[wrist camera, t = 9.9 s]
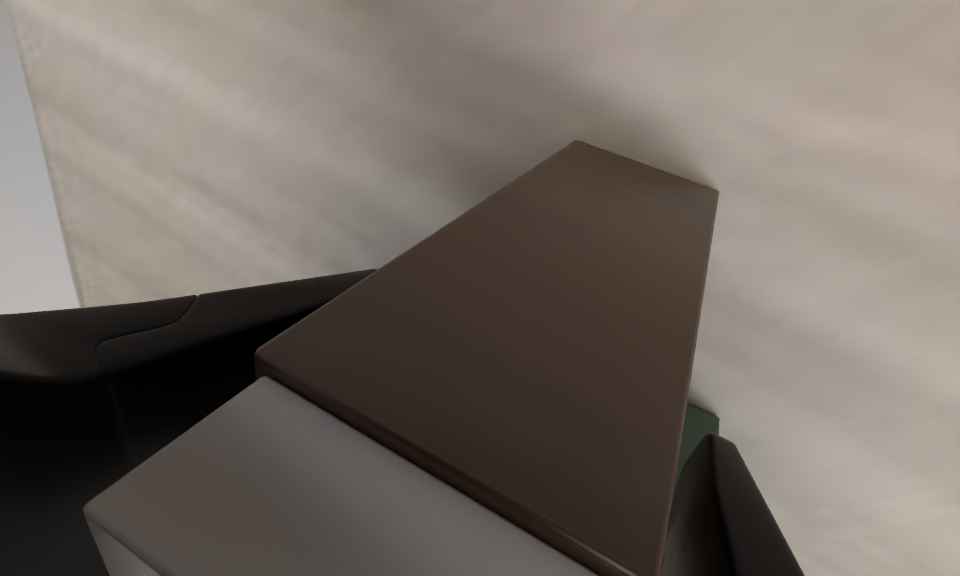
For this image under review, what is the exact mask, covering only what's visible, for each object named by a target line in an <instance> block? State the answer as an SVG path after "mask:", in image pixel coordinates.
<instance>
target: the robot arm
mask: <svg viewBox="0 0 960 576" xmlns="http://www.w3.org/2000/svg"><path fill="white" fill-rule="evenodd" d="M375 271H377V269H370V270H363V271H356V272H349V273H343V274H336V275H329V276H322V277H315V278H308V279H301V280H295V281H288V282H281V283H274V284H267V285H260V286H253V287H246V288H240V289H233V290H226V291H219V292H212V293H205V294H200V295H199V296H196V295H191V296H184V297H178V298H171V299H163V300H155V301H148V302H140V303H129V304H119V305H109V306H99V307H87V308H76V309H66V310H65V309H64V310H53V311H42V312H30V313H19V314H5V315H4V314H3V315H0V576H110V575H109V573H108V570H107V568H106V566H105V563H104V561H103V559H102V556H101V554H100V551H99V549H98V547H97V544H96V542H95V540H94V537H93V535H92V533H91V530H90V528H89V526H88V523H87V521H86V519H85V516H84V513H83V507H84V506H85V505H86V504H87V502H89V501H90V500H91V499H93V498H94V497H96V496H97V495H98V494H100V493H101V492H103V491H104V490H105V489H107V488H108V487H110V486H111V485H112V484H114V483H115V482H117V481H118V480H119V479H121V478H122V477H123V476H125V475H126V474H128V473H129V472H130V471H132V470H133V469H135V468H136V467H137V466H139V465H140V464H142V463H143V462H144V461H146V460H147V459H148V458H150V457H151V456H153V455H154V454H155V453H157V452H158V451H160V450H161V449H162V448H164V447H165V446H167V445H168V444H169V443H171V442H172V441H173V440H175V439H176V438H178V437H179V436H180V435H182V434H183V433H185V432H186V431H187V430H189V429H190V428H192V427H193V426H194V425H196V424H197V423H199V422H200V421H201V420H203V419H204V418H205V417H207V416H208V415H210V414H211V413H212V412H214V411H215V410H217V409H218V408H219V407H221V406H222V405H224V404H225V403H226V402H228V401H229V400H230V399H232V398H233V397H235V396H236V395H237V394H239V393H240V392H242V391H243V390H244V389H246V388H247V387H249V386H250V385H251V384H253V383H254V382H256V381H255V363H254V354H255V352H256V351H257V349H258V348H259V347H261V346H262V345H264V344H265V343H267V342H268V341H270V340H271V339H273V338H274V337H276V336H277V335H279V334H281V333H282V332H284V331H285V330H287V329H288V328H290V327H291V326H293V325H294V324H296V323H297V322H299V321H300V320H302V319H303V318H305V317H306V316H308V315H310V314H311V313H313V312H314V311H316V310H317V309H319V308H320V307H322V306H323V305H325V304H326V303H328V302H329V301H331V300H332V299H334V298H335V297H337V296H339V295H340V294H342V293H343V292H345V291H346V290H348V289H349V288H351V287H352V286H354V285H355V284H357V283H358V282H360V281H361V280H363V279H365V278H366V277H368V276H369V275H371V274H372V273H374V272H375ZM661 576H804V574H803V572H802V570H801V568H800V566H799V564H798V562H797V560H796V559H795V557H794V555H793V553H792V551H791V549H790V547H789V545H788V544H787V542H786V540H785V538H784V536H783V534H782V532H781V530H780V528H779V527H778V525H777V523H776V521H775V519H774V517H773V515H772V513H771V512H770V510H769V508H768V506H767V504H766V502H765V500H764V498H763V496H762V495H761V493H760V491H759V489H758V487H757V485H756V483H755V481H754V480H753V478H752V476H751V474H750V472H749V470H748V468H747V466H746V465H745V463H744V461H743V459H742V457H741V455H740V453H739V451H738V449H737V448H736V446H735V445H734V444H733V443H732V442H730V441H728V440H726V439H724V438H722V437H720V436H718V435H716V434H714V433H708V434H706V435H705V436H704V437H703V439H702V440H701V441H700V443H699V444H698V446H697V447H696V448H695V450H694V451H693V452H692V454H691V455H690V456H689V458H688V459H687V461H686V462H685V464H684V466H683V468H682V471H681V474H680V477H679V481H678V484H677V488H676V492H675V495H674V499H673V502H672V506H671V511H670V517H669V524H668V530H667V537H666V544H665V550H664V557H663V563H662V570H661Z"/></svg>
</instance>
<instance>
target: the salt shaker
mask: <svg viewBox="0 0 960 576" xmlns="http://www.w3.org/2000/svg"><path fill="white" fill-rule="evenodd" d="M718 196H719V192H718V191H717V190H715V189H712V188H709V187H706V186H704V185H701V184H698V183H695V182H692V181H690V180H687V179H684V178H681V177H678V176H676V175H673V174H670V173H667V172H664V171H662V170H659V169H656V168H653V167H650V166H648V165H645V164H642V163H639V162H636V161H633V160H631V159H628V158H625V157H622V156H619V155H617V154H614V153H611V152H608V151H605V150H603V149H600V148H597V147H594V146H591V145H589V144H586V143H583V142H580V141H574V142H572V143H571V144H569V145H568V146H566V147H565V148H563V149H562V150H560V151H559V152H557V153H555V154H554V155H552V156H551V157H549V158H548V159H546V160H545V161H543V162H542V163H540V164H539V165H537V166H536V167H534V168H533V169H531V170H530V171H528V172H526V173H525V174H523V175H522V176H520V177H519V178H517V179H516V180H514V181H513V182H511V183H510V184H508V185H507V186H505V187H504V188H502V189H500V190H499V191H497V192H496V193H494V194H493V195H491V196H490V197H488V198H487V199H485V200H484V201H482V202H481V203H479V204H478V205H476V206H475V207H473V208H471V209H470V210H468V211H467V212H465V213H464V214H462V215H461V216H459V217H458V218H456V219H455V220H453V221H452V222H450V223H449V224H447V225H445V226H444V227H442V228H441V229H439V230H438V231H436V232H435V233H433V234H432V235H430V236H429V237H427V238H426V239H424V240H423V241H421V242H420V243H418V244H416V245H415V246H413V247H412V248H410V249H409V250H407V251H406V252H404V253H403V254H401V255H400V256H398V257H397V258H395V259H394V260H392V261H390V262H389V263H387V264H386V265H384V266H383V267H381V268H380V269H378V270H377V271H375V272H374V273H372V274H371V275H369V276H368V277H366V278H365V279H363V280H361V281H360V282H358V283H357V284H355V285H354V286H352V287H351V288H349V289H348V290H346V291H345V292H343V293H342V294H340V295H339V296H337V297H335V298H334V299H332V300H331V301H329V302H328V303H326V304H325V305H323V306H322V307H320V308H319V309H317V310H316V311H314V312H313V313H311V314H310V315H308V316H306V317H305V318H303V319H302V320H300V321H299V322H297V323H296V324H294V325H293V326H291V327H290V328H288V329H287V330H285V331H284V332H282V333H281V334H279V335H277V336H276V337H274V338H273V339H271V340H270V341H268V342H267V343H265V344H264V345H262V346H261V347H259V348H258V349H257V351H256V352H255V354H254V363H255V381H256V382H254V383H253V384H251V385H250V386H249V387H247V388H246V389H244V390H243V391H242V392H240V393H239V394H237V395H236V396H235V397H233V398H232V399H230V400H229V401H228V402H226V403H225V404H224V405H222V406H221V407H219V408H218V409H217V410H215V411H214V412H212V413H211V414H210V415H208V416H207V417H205V418H204V419H203V420H201V421H200V422H199V423H197V424H196V425H194V426H193V427H192V428H190V429H189V430H187V431H186V432H185V433H183V434H182V435H180V436H179V437H178V438H176V439H175V440H173V441H172V442H171V443H169V444H168V445H167V446H165V447H164V448H162V449H161V450H160V451H158V452H157V453H155V454H154V455H153V456H151V457H150V458H148V459H147V460H146V461H144V462H143V463H142V464H140V465H139V466H137V467H136V468H135V469H133V470H132V471H130V472H129V473H128V474H126V475H125V476H123V477H122V478H121V479H119V480H118V481H117V482H115V483H114V484H112V485H111V486H110V487H108V488H107V489H105V490H104V491H103V492H101V493H100V494H98V495H97V496H96V497H94V498H93V499H91V500H90V501H89V502H87V504H86V505H85V506H84V507H83V513H84V516H85V519H86V521H87V523H88V526H89V528H90V530H91V533H92V535H93V537H94V540H95V542H96V544H97V547H98V549H99V551H100V554H101V556H102V559H103V561H104V563H105V566H106V568H107V570H108V573H109V575H110V576H661V570H662V563H663V557H664V550H665V544H666V537H667V530H668V524H669V517H670V511H671V504H672V498H673V491H674V485H675V478H676V471H677V465H678V458H679V452H680V445H681V439H682V432H683V426H684V419H685V412H686V406H687V399H688V393H689V386H690V380H691V373H692V367H693V360H694V353H695V347H696V340H697V334H698V327H699V321H700V314H701V308H702V301H703V294H704V288H705V281H706V275H707V268H708V262H709V255H710V249H711V242H712V235H713V229H714V222H715V216H716V209H717V203H718Z"/></svg>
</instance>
